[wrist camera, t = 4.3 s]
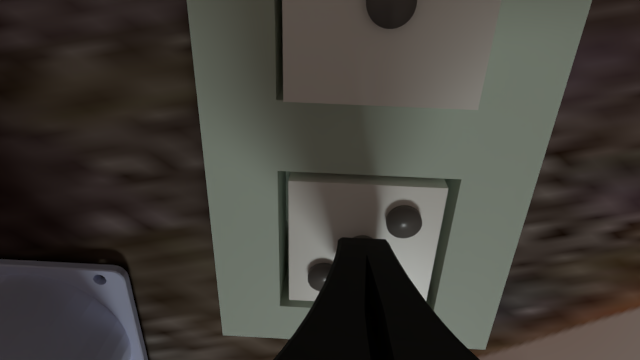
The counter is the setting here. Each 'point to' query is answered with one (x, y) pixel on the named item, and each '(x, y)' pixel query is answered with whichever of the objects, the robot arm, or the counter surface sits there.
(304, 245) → the tile three pips
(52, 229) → the counter surface
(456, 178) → the button board
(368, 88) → the tile one pip
